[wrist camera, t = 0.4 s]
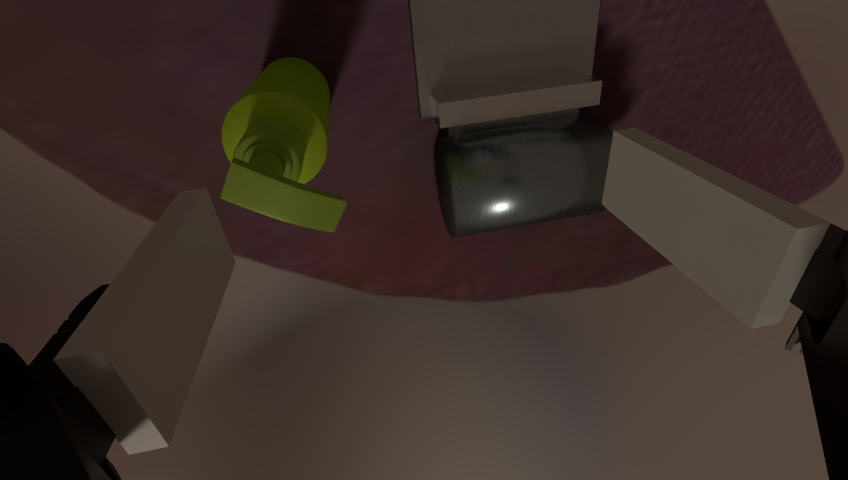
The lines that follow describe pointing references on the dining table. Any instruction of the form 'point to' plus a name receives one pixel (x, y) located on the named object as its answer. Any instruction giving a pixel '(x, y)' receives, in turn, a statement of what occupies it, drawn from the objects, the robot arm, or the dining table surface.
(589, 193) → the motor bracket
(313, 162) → the soap dispenser
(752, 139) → the dining table surface
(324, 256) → the dining table surface
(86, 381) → the robot arm
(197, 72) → the dining table surface
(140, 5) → the dining table surface
